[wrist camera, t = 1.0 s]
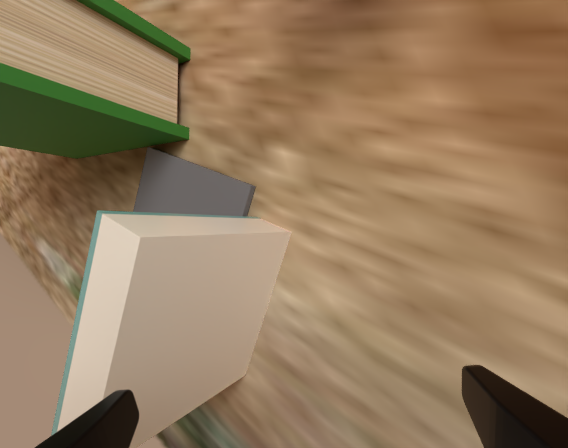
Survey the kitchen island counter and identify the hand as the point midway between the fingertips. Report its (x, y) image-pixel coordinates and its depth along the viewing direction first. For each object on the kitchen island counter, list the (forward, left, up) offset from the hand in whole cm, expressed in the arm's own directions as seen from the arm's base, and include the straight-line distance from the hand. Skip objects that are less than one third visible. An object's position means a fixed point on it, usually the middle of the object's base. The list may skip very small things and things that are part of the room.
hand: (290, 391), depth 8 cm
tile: (+7, +6, -11) cm, 14 cm away
